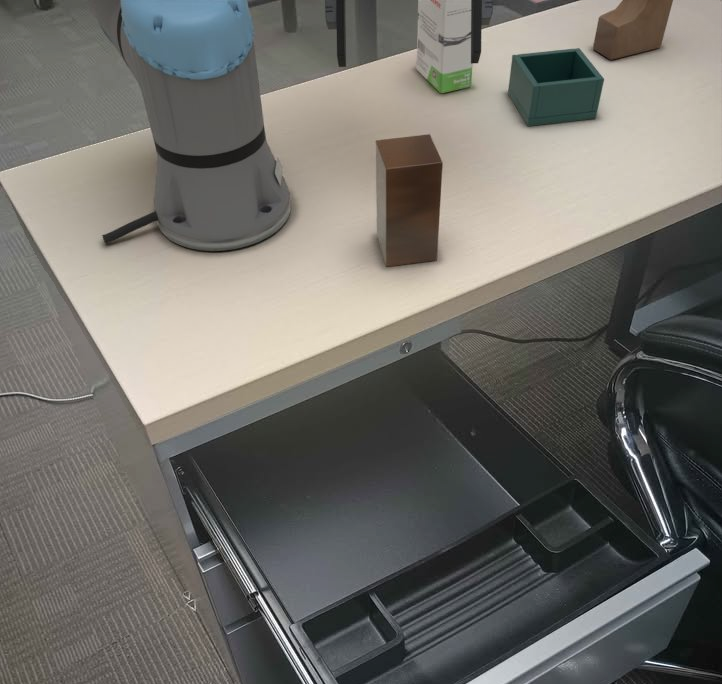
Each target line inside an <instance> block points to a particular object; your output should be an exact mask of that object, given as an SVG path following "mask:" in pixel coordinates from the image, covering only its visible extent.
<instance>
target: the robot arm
mask: <svg viewBox="0 0 722 684" xmlns="http://www.w3.org/2000/svg"><path fill="white" fill-rule="evenodd" d="M83 1H84V3H85V4H86V6H87V7H88V9H89V10H90V12H91V13H92V15H93V17H94V18H95V20H96V22H97V24H98V26H99V28H100V30H101V31H102V33H103V34H104V35H105V37H106V38H107V39H108V40H109V42H110V43H111V44H112V45H113V47H114V48H115V49H116V51H117V52H118V54H119V55H120V57H121V58H122V60H123V61H124V63H125V64H126V67H127V68H128V69H129V71H130V72H131V74H132V76H133V77H134V79H135V80H136V82H137V84H138V87H139V89H140V92H141V96H142V99H143V100H142V101H143V103H144V107H145V112H146V115H147V119H148V123H149V128H150V132H151V135H152V138H153V143H154V147H155V151H156V167H155V181H154V193H153V210H154V211H153V212H150V213H148V214H145V215H144V216H141V217H138V218H137V219H135V220H133V221H130V222H128V223H125V224H124V225H122V226H120V227H118V228H115V229H114V230H112V231H109V232H108V233H104V234H102V235H101V236H102V239H103V242H104V244H110V243H112V242H115V241H116V240H119V239H120V238H123V237H125V236H126V235H128V234H131V233H133V232H135V231H137V230H139V229H141V228H144V227H146V226H148V225H150V224H152V223H153V224H154V222H156V223H157V227H158V228H159V230H160V231H161V233H162V235H164V237H166V238H167V240H170V241H171V242H173V243H175V244H176V245H178V246H181V247H184V248H187V249H191V250H197V251H206V252H222V251H229V250H230V251H231V250H237V249H241V248H246V247H249V246H252V245H255V244H258V243H259V242H262V241H263V240H266V239H268V238H269V237H270V236H272V235H274V234H275V233H277V232H278V231H279V230H280V229H281V228H282V227H283V226H284V225H285V223H286V222H287V221H288V219H289V216H290V214H291V210H292V209H291V208H292V205H291V196H290V195H291V194H290V191H289V187H288V183H287V181H286V179H285V177H284V175H283V173H284V172H283V171H284V168H283V165H282V163H281V161H280V159H279V156H277V157H276V158H275V156H274V154H273V151H272V150H271V147H270V146H269V144H268V140H267V136H266V135H267V134H266V129H265V122H264V114H263V104H262V96H261V90H260V81H259V73H258V66H257V65H258V63H257V58H256V57H257V56H256V51H255V50H256V49H255V41H254V37H255V34H254V31H255V28H254V22H253V20H252V18H253V16H252V14H251V11H250V8H249V3H248V0H83ZM324 2H325V3H324V14H325V16H324V17H325V24H326V27H327V29H328V30H331V31H332V30H336V58H337V64H338V68H346V67H347V38H346V37H347V31H346V30H347V29H346V28H347V27H346V26H347V25H346V0H324ZM493 4H494V1H493V0H471V64H473V65H474V64H479V63H480V59H481V55H482V26H489V25H490V23H491V21H492V17H493V16H492V15H493V9H494V6H493Z"/></svg>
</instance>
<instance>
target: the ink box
mask: <svg viewBox="0 0 722 684" xmlns="http://www.w3.org/2000/svg"><path fill="white" fill-rule="evenodd" d="M416 31H417V34H416V35H417V37H416V39H417V40H416V41H417V42H416V68H415V70H417V71H418V73H419V74H421V76H422V77H424V79H425V80H426V81H427V82H428V83H430V85H431V86H432V87H433V88H434V89H435V90H436V91H437V92H438V93H439V94H444V93H449V92H453V91H458V90H462V89H466V88H470V87H472V79H473V77H472V76H473V65H474V64H471V0H418V1H417V30H416Z"/></svg>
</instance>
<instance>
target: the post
mask: <svg viewBox="0 0 722 684" xmlns="http://www.w3.org/2000/svg"><path fill="white" fill-rule="evenodd" d="M442 180H443V160H442V157H441V156H440V153H439V151H438V149H437V147H436V145H435V142H434V139H433V138H432V136H431V134H429V133H428V134H421V135H410V136H403V137H401V136H400V137H393V138H384V139H376V140H375V190H376V192H375V195H376V197H375V198H376V199H375V200H376V239H377V241H378V245H379V248H380V252H381V254H382V258H383V260H384V264H385V267H395V266H403V265H411V264H418V263H419V264H420V263H426V262H427V263H428V262H435V261H437V260H438V249H439V247H438V246H439V233H440V232H439V231H440V215H441V199H442V182H443V181H442Z"/></svg>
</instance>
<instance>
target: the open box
mask: <svg viewBox="0 0 722 684" xmlns="http://www.w3.org/2000/svg"><path fill="white" fill-rule="evenodd" d="M510 64H511V65H510V72H509V80H508V90H507V95H508V96H509V98H510V100H511V102H512V103H513V104H514V106H515V108H516V109H517V111H518V113H519V114H520V116H521V118H522V120H523V121H524V122H525V124H526V126H527V127H533V126H544V125H551V124H552V125H553V124H559V123H569V122H575V121H576V122H577V121H587V120H595V119H597V115H598V111H599V106H600V101H601V96H602V92H603V88H604V87H603V86H604V82H605V78H604V77H603V76H602V74H601V73H600V71H599V70H598V69H597V68H596V67H595V66H594V64H593V62H591V61H590V59H589V58H588V57H587V55H586V54H585V53H584V51H582V50H581V48H580V47H577V48H576V47H575V48H567V49H555V50H549V51H547V50H546V51H537V52H528V53H520V54H519V53H518V54H512V55H511V63H510Z"/></svg>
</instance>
